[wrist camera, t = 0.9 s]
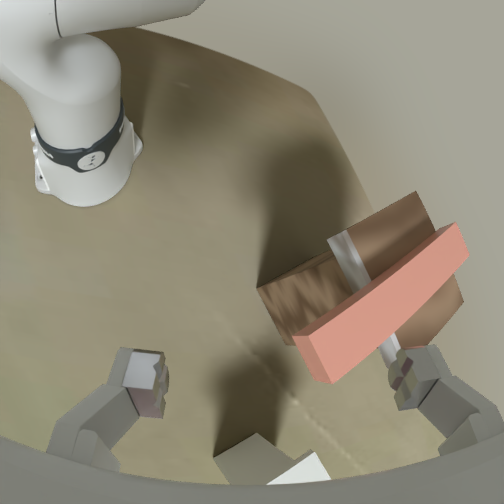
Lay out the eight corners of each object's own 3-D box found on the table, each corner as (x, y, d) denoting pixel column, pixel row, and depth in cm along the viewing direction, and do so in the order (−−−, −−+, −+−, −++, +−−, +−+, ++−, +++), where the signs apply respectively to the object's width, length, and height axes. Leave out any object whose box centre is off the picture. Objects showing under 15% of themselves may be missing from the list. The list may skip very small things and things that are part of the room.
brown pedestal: (247, 278, 50) (341, 232, 27) (309, 246, 55) (416, 190, 32) (288, 357, 49) (403, 369, 26) (344, 318, 54) (463, 301, 31)
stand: (198, 459, 40) (225, 508, 26) (264, 421, 45) (314, 451, 31) (224, 493, 40) (258, 544, 26) (286, 456, 44) (338, 491, 30)
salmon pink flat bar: (291, 335, 23) (308, 335, 21) (439, 228, 32) (455, 221, 29) (314, 380, 23) (332, 384, 20) (453, 259, 32) (469, 254, 29)
